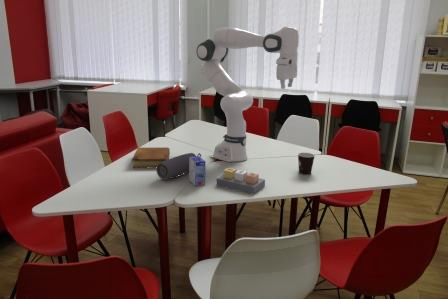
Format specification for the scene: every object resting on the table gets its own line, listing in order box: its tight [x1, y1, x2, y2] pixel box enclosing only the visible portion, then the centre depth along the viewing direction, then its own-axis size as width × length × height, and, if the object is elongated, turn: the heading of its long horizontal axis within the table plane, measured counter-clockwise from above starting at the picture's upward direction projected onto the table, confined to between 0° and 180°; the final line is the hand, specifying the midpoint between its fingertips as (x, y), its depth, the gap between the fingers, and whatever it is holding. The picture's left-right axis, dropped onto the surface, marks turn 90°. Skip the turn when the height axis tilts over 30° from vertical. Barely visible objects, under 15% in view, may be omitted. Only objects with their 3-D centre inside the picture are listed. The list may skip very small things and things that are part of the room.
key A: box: [223, 167, 237, 179], centre depth 186 cm, size 4×4×5 cm
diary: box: [131, 147, 171, 169], centre depth 217 cm, size 23×19×6 cm
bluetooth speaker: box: [155, 152, 197, 180], centre depth 195 cm, size 23×9×10 cm, turn 145°
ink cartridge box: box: [188, 153, 206, 187], centre depth 185 cm, size 10×6×14 cm, turn 23°
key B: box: [235, 169, 248, 182], centre depth 183 cm, size 4×4×5 cm
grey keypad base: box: [216, 174, 266, 195], centre depth 184 cm, size 20×12×4 cm, turn 59°
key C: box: [246, 172, 259, 184], centre depth 180 cm, size 4×4×5 cm
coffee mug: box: [297, 152, 316, 176], centre depth 205 cm, size 12×9×10 cm
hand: (286, 87), depth 197 cm, fingers open, 8 cm apart
